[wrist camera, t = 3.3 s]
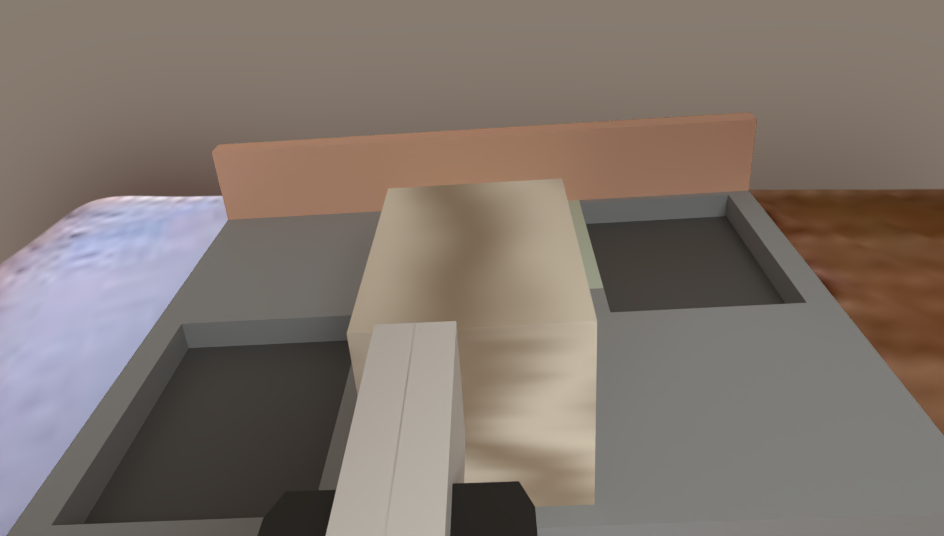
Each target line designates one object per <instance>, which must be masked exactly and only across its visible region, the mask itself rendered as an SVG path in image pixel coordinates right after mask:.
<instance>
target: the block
mask: <svg viewBox="0 0 944 536" xmlns="http://www.w3.org/2000/svg"><path fill="white" fill-rule="evenodd" d="M445 321H456V323H457V336H458V348H459V361H460V374H461V386H462V399H463V412H464V425H465V475H464V483H482V482H511V481H519V482H520V484H521V485H522V487H523V488H524V490H525V492H526V493H527V495H528V496H529V498H530V500H531V501H532V503H533V504H534V506H535V507H543V506H569V505H594V503H595V437H596V371H597V318H596V314H595V310H594V306H593V302H592V298H591V294H590V290H589V285H588V281H587V277H586V273H585V269H584V265H583V261H582V257H581V253H580V249H579V245H578V241H577V237H576V233H575V228H574V224H573V220H572V216H571V212H570V208H569V204H568V200H567V196H566V192H565V188H564V184H563V180H562V178H561V179H543V180H526V181H509V182H491V183H474V184H457V185H439V186H422V187H405V188H388V191H387V194H386V198H385V201H384V205H383V208H382V212H381V215H380V219H379V222H378V226H377V229H376V233H375V236H374V240H373V243H372V247H371V250H370V254H369V257H368V261H367V264H366V267H365V271H364V274H363V278H362V281H361V285H360V288H359V292H358V295H357V299H356V302H355V306H354V309H353V313H352V316H351V320H350V323H349V327H348V330H347V339H348V344H349V350H350V356H351V361H352V367H353V373H354V378H355V384H356V390H357V395H358V393H359V389H360V385H361V380H362V376H363V372H364V367H365V363H366V359H367V354H368V350H369V346H370V341H371V337H372V333H373V328H374V325H375V324H399V323H422V322H445Z"/></svg>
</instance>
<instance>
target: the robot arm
mask: <svg viewBox="0 0 944 536" xmlns="http://www.w3.org/2000/svg"><path fill="white" fill-rule="evenodd" d="M464 475H465V425H464V412H463V399H462V386H461V374H460V361H459V348H458V336H457V323H456V321H445V322H422V323H399V324H375V325H374V328H373V333H372V337H371V341H370V346H369V350H368V354H367V359H366V363H365V367H364V372H363V376H362V380H361V385H360V389H359V393H358V398H357V402H356V406H355V411H354V415H353V419H352V424H351V428H350V432H349V436H348V441H347V445H346V449H345V454H344V458H343V462H342V467H341V471H340V475H339V480H338V484H337V488H336V490H312V491H285V493H284V494H283V495H282V496H281V497H280V499H279V500H278V501H277V502H276V503H275V505H274V506H273V507H272V508H271V509H270V511H269V512H268V513H267V514H266V515H265V517H264V518H263V520H262V523H261V526H260V529H259V532H258V535H257V536H538V534H537V523H536V511H535V506H534V504H533V503H532V501H531V500H530V498H529V496H528V495H527V493H526V492H525V490H524V488H523V487H522V485H521V484H520V482H519V481H511V482H482V483H464Z"/></svg>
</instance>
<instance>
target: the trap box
mask: <svg viewBox="0 0 944 536" xmlns="http://www.w3.org/2000/svg"><path fill="white" fill-rule="evenodd" d="M756 124H757V119H756V118H755V117H754V116H753V115H752V114H751V113H750V112H748V113H730V114H714V115H699V116H682V117H665V118H650V119H632V120H615V121H599V122H583V123H567V124H552V125H551V124H550V125H533V126H519V127H518V126H517V127H501V128H484V129H468V130H452V131H436V132H419V133H403V134H386V135H369V136H353V137H338V138H337V137H336V138H320V139H305V140H287V141H271V142H254V143H238V144H221V145H218V146H217V147H216V148H215V149H214V150H213V152H212V155H213V159H214V163H215V167H216V171H217V175H218V180H219V184H220V188H221V192H222V196H223V200H224V204H225V208H226V212H227V216H228V221H227V223H226V224H225V225H224V227H223V228H222V230H221V231H220V233H219V234H218V235H217V237H216V238H215V240H214V241H213V243H212V244H211V245H210V247H209V248H208V250H207V251H206V252H205V254H204V255H203V257H202V258H201V260H200V261H199V262H198V264H197V265H196V267H195V268H194V270H193V271H192V272H191V274H190V275H189V277H188V278H187V280H186V281H185V282H184V284H183V285H182V287H181V288H180V289H179V291H178V292H177V294H176V295H175V297H174V298H173V299H172V301H171V302H170V304H169V305H168V307H167V308H166V309H165V311H164V312H163V314H162V315H161V317H160V318H159V319H158V321H157V322H156V324H155V325H154V326H153V328H152V329H151V331H150V332H149V334H148V335H147V336H146V338H145V339H144V341H143V342H142V344H141V345H140V346H139V348H138V349H137V351H136V352H135V354H134V355H133V356H132V358H131V359H130V361H129V362H128V364H127V365H126V366H125V368H124V369H123V371H122V372H121V373H120V375H119V376H118V378H117V379H116V381H115V382H114V383H113V385H112V386H111V388H110V389H109V391H108V392H107V393H106V395H105V396H104V398H103V399H102V401H101V402H100V403H99V405H98V406H97V408H96V409H95V410H94V412H93V413H92V415H91V416H90V418H89V419H88V420H87V422H86V423H85V425H84V426H83V428H82V429H81V430H80V432H79V433H78V435H77V436H76V438H75V439H74V440H73V442H72V443H71V445H70V446H69V448H68V449H67V450H66V452H65V453H64V455H63V456H62V457H61V459H60V460H59V462H58V463H57V465H56V466H55V467H54V469H53V470H52V472H51V473H50V475H49V476H48V477H47V479H46V480H45V482H44V483H43V485H42V486H41V487H40V489H39V490H38V492H37V493H36V494H35V496H34V497H33V499H32V500H31V502H30V503H29V504H28V506H27V507H26V509H25V510H24V512H23V513H22V514H21V516H20V517H19V519H18V520H17V522H16V523H15V524H14V526H13V527H12V529H11V530H10V532H9V533H8V534H7V536H257V535H258V532H259V529H260V526H261V523H262V520H263V518H264V517H265V515H266V514H267V513H268V512H269V511H270V509H271V508H272V507H273V506H274V505H275V503H276V502H277V501H278V500H279V499H280V497H281V496H282V495H283V494H284V493H285V491H312V490H336V488H337V484H338V480H339V475H340V471H341V467H342V462H343V458H344V454H345V449H346V445H347V441H348V436H349V432H350V428H351V424H352V419H353V415H354V411H355V406H356V402H357V398H358V395H357V390H356V384H355V378H354V373H353V367H352V361H351V356H350V350H349V344H348V339H347V330H348V327H349V323H350V320H351V316H352V313H353V309H354V306H355V302H356V299H357V295H358V292H359V288H360V285H361V281H362V278H363V274H364V271H365V267H366V264H367V261H368V257H369V254H370V250H371V247H372V243H373V240H374V236H375V233H376V229H377V226H378V222H379V219H380V215H381V212H382V208H383V205H384V201H385V198H386V194H387V191H388V188H405V187H422V186H439V185H457V184H474V183H491V182H509V181H526V180H543V179H561V178H562V180H563V184H564V188H565V192H566V196H567V200H568V204H569V208H570V212H571V216H572V220H573V224H574V228H575V233H576V237H577V241H578V245H579V249H580V253H581V257H582V261H583V265H584V269H585V273H586V277H587V281H588V285H589V290H590V294H591V298H592V302H593V306H594V310H595V314H596V318H597V371H596V437H595V503H594V505H569V506H543V507H535V511H536V523H537V534H538V536H944V435H943V434H942V433H941V432H940V430H939V429H938V428H937V427H936V425H935V424H934V423H933V422H932V420H931V419H930V418H929V417H928V415H927V414H926V413H925V412H924V410H923V409H922V408H921V406H920V405H919V404H918V403H917V401H916V400H915V399H914V398H913V396H912V395H911V394H910V393H909V391H908V390H907V389H906V388H905V386H904V385H903V384H902V383H901V381H900V380H899V379H898V378H897V376H896V375H895V374H894V373H893V371H892V370H891V369H890V368H889V366H888V365H887V364H886V362H885V361H884V360H883V359H882V357H881V356H880V355H879V354H878V352H877V351H876V350H875V349H874V347H873V346H872V345H871V344H870V342H869V341H868V340H867V339H866V337H865V336H864V335H863V334H862V332H861V331H860V330H859V329H858V327H857V326H856V325H855V324H854V322H853V321H852V320H851V318H850V317H849V316H848V315H847V313H846V312H845V311H844V310H843V308H842V307H841V306H840V305H839V303H838V302H837V301H836V300H835V298H834V297H833V296H832V295H831V293H830V292H829V291H828V290H827V288H826V287H825V286H824V285H823V283H822V282H821V281H820V280H819V278H818V277H817V276H816V274H815V273H814V272H813V271H812V269H811V268H810V267H809V266H808V264H807V263H806V262H805V261H804V259H803V258H802V257H801V256H800V254H799V253H798V252H797V251H796V249H795V248H794V247H793V246H792V244H791V243H790V242H789V241H788V239H787V238H786V237H785V236H784V234H783V233H782V232H781V230H780V229H779V228H778V227H777V225H776V224H775V223H774V222H773V220H772V219H771V218H770V217H769V215H768V214H767V213H766V212H765V210H764V209H763V208H762V207H761V205H760V204H759V203H758V202H757V200H756V199H755V198H754V197H753V195H752V194H751V193H750V192H749V184H750V175H751V167H752V158H753V149H754V141H755V133H756Z"/></svg>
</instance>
